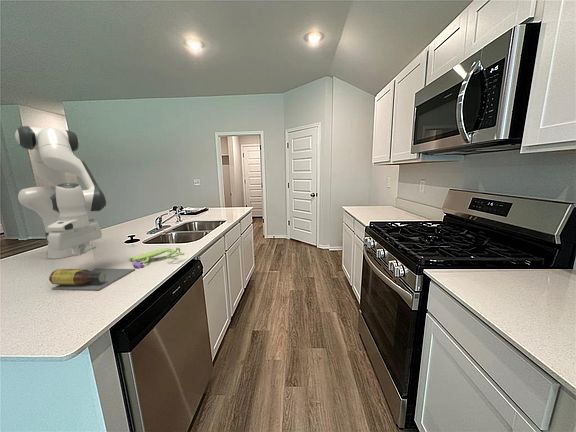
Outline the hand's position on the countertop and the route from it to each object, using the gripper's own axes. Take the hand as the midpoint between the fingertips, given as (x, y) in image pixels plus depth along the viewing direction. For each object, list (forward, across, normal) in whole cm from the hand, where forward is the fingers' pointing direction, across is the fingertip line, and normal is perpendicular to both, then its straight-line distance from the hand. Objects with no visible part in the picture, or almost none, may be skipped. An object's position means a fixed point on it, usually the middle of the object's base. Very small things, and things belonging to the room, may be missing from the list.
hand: (81, 254), depth 103 cm
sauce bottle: (+7, +6, -7) cm, 12 cm away
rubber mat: (+11, 0, +5) cm, 12 cm away
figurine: (+12, -23, +18) cm, 32 cm away
